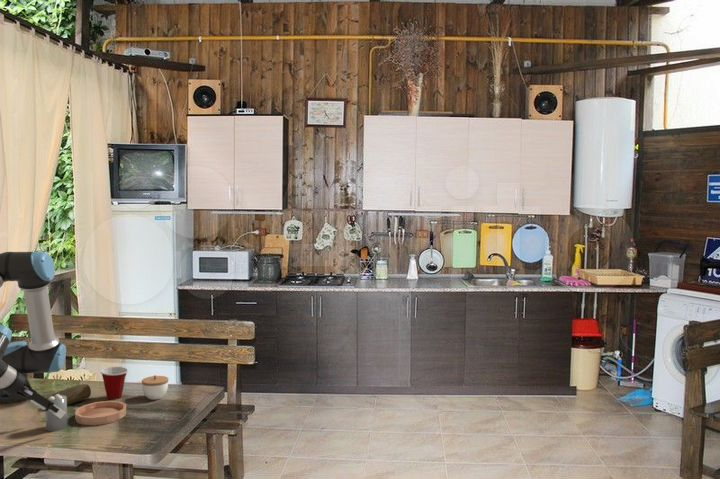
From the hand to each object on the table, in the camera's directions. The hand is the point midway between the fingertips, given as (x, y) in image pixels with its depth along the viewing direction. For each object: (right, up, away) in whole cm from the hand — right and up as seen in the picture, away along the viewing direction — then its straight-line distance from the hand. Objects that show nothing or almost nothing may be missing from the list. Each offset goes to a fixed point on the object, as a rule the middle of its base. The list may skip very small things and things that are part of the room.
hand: (54, 411), depth 217 cm
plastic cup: (+8, -4, +35) cm, 36 cm away
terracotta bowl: (+12, -6, +13) cm, 18 cm away
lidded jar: (+25, -5, +35) cm, 43 cm away
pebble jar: (0, -7, +1) cm, 7 cm away
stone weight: (-7, -5, +28) cm, 29 cm away
